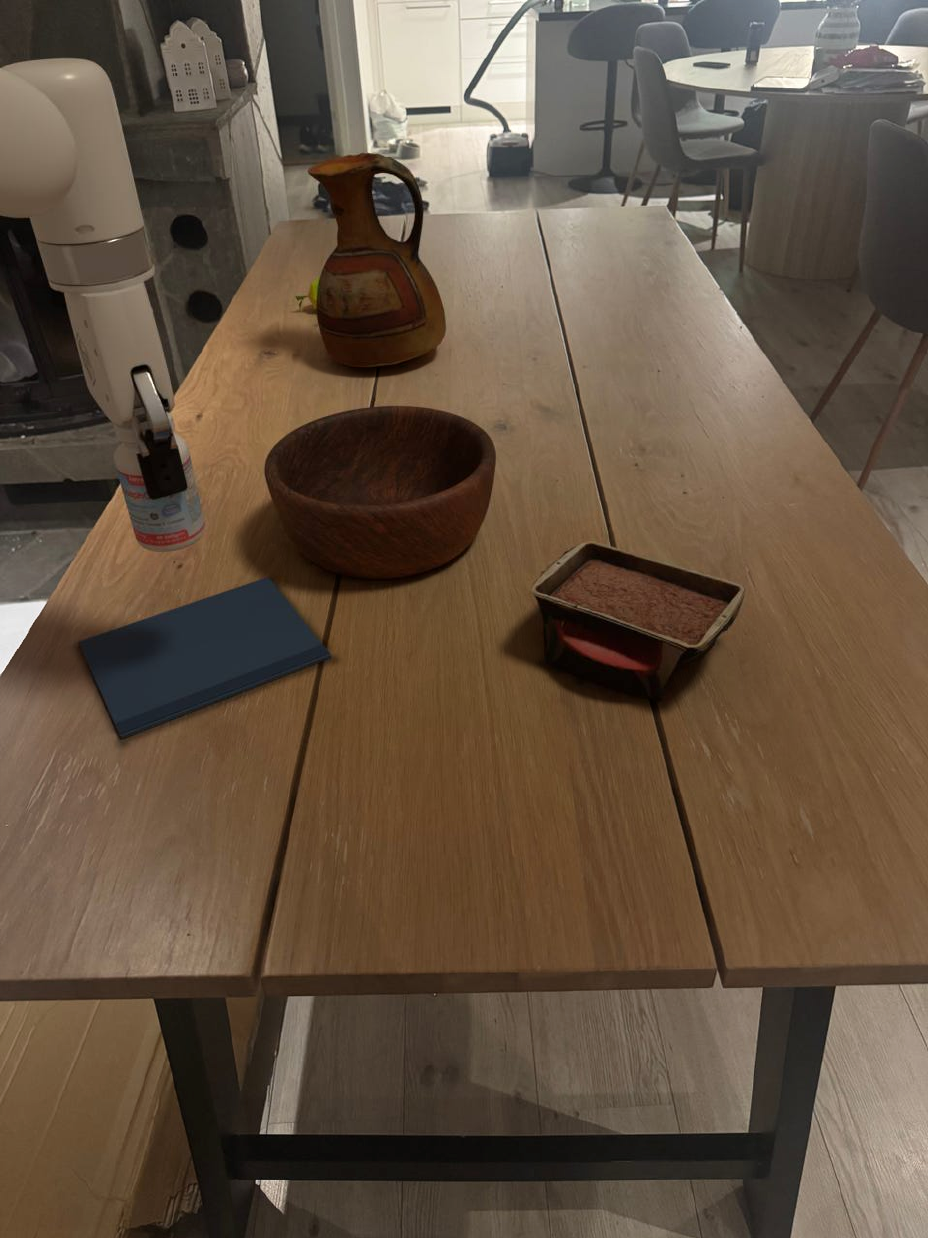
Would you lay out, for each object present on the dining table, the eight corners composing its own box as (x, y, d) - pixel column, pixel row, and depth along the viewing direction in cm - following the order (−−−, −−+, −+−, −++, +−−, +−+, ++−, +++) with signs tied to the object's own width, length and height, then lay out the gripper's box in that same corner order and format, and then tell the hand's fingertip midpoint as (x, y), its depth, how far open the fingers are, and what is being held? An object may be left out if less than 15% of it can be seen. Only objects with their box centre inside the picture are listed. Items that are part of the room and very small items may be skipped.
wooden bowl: (338, 470, 119) (328, 394, 113) (524, 496, 112) (524, 417, 105) (236, 574, 100) (217, 490, 94) (452, 614, 93) (446, 526, 87)
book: (121, 739, 80) (120, 735, 80) (79, 644, 91) (77, 640, 91) (331, 657, 88) (330, 653, 88) (268, 579, 99) (268, 575, 99)
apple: (341, 266, 166) (291, 271, 164) (347, 298, 164) (297, 303, 163) (341, 289, 173) (293, 294, 171) (347, 319, 171) (298, 324, 170)
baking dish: (602, 602, 97) (590, 519, 92) (765, 643, 86) (762, 552, 81) (522, 682, 89) (503, 597, 83) (690, 739, 78) (681, 645, 72)
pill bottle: (127, 554, 79) (90, 434, 73) (151, 518, 84) (118, 402, 78) (196, 554, 79) (165, 433, 72) (216, 518, 84) (189, 401, 77)
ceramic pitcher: (324, 339, 157) (298, 144, 139) (442, 331, 158) (431, 136, 140) (321, 384, 142) (292, 171, 124) (452, 375, 143) (442, 162, 125)
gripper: (22, 241, 72) (87, 451, 83) (71, 298, 60) (140, 535, 71) (118, 225, 75) (169, 430, 86) (184, 275, 63) (234, 507, 74)
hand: (156, 475), depth 78 cm, fingers closed on pill bottle, 6 cm apart
